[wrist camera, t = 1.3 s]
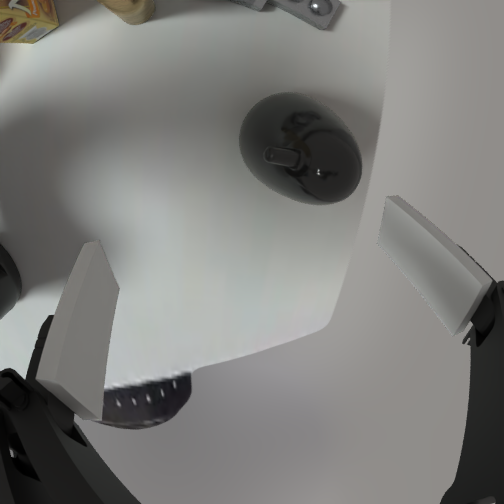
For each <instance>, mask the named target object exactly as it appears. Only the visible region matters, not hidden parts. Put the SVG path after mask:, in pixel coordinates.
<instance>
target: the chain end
mask: <svg viewBox="0 0 504 504" xmlns="http://www.w3.org/2000/svg"><path fill="white" fill-rule="evenodd" d="M266 2H267V3H270V4H272V5H274V6H276V7H278V8H280V9H282V10H284V11H286V12H288V13H290V14H292V15H294V16H296V17H298V18H300V19H302V20H303V21H305V22H307V23H309V24H311V25H312V26H314V27H316V28H317V29H319V30H322V29H326V28H327V26H328V24H329V23H330V21H331V19H332V17H333V15H334V14H335V12H336V10H337V8H338V7H339V5H340V3H341V2H340V1H339V0H255V2H254V4H253V5H252V6H251V7H250V8H251V9H253V10H255V11H258V12H259V11H260V10H261V9H262V8H263V6H264V4H265V3H266Z"/></svg>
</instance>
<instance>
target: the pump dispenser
mask: <svg viewBox="0 0 504 504" xmlns="http://www.w3.org/2000/svg"><path fill="white" fill-rule="evenodd" d="M239 146H240V152H241V155H242V158H243V160H244V163H245V164H246V166H247V168H248V169H249V170H250V172H251V173H252V174H253V175H254V176H255V177H256V178H257V179H258V180H259V181H261V182H262V183H263V184H264V185H266V186H267V187H269V188H270V189H272V190H273V191H275V192H277V193H279V194H281V195H283V196H285V197H288V198H290V199H292V200H295V201H298V202H301V203H305V204H311V205H329V204H334V203H338V202H340V201H342V200H344V199H346V198H347V197H349V196H350V195H351V194H352V193H353V192H354V190H355V189H356V188H357V186H358V184H359V182H360V179H361V175H362V158H361V153H360V150H359V147H358V144H357V142H356V140H355V138H354V136H353V135H352V133H351V132H350V130H349V129H348V127H347V126H346V125H345V124H344V122H343V121H342V120H341V119H340V118H339V117H338V116H337V115H336V114H335V113H334V112H333V111H332V110H330V109H329V108H328V107H327V106H325V105H324V104H322V103H321V102H319V101H317V100H316V99H314V98H312V97H309V96H307V95H304V94H300V93H293V92H284V93H278V94H274V95H271V96H269V97H267V98H265V99H263V100H261V101H260V102H259V103H257V104H256V105H255V106H254V107H253V108H252V109H251V110H250V111H249V113H248V114H247V116H246V117H245V119H244V121H243V124H242V127H241V130H240V136H239Z"/></svg>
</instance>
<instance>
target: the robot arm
mask: <svg viewBox="0 0 504 504" xmlns="http://www.w3.org/2000/svg"><path fill="white" fill-rule="evenodd" d="M377 244H378V245H379V246H380V248H381V249H382V250H383V251H384V252H385V253H386V254H387V255H388V256H389V258H390V259H391V260H392V261H393V262H394V263H395V264H396V266H397V267H398V268H399V269H400V270H401V271H402V273H403V274H404V275H405V276H406V277H407V279H408V280H409V281H410V282H411V283H412V285H413V286H414V287H415V288H416V290H417V291H418V292H419V293H420V295H421V296H422V297H423V298H424V299H425V301H426V302H427V303H428V305H429V306H430V307H431V309H432V310H433V311H434V312H435V314H436V315H437V316H438V318H439V319H440V320H441V322H442V323H443V324H444V326H445V327H446V329H447V330H448V331H449V333H450V334H451V336H455V335H456V334H458V333H460V332H462V331H463V330H464V329H465V328H466V326H467V324H468V323H469V321H471V322H472V323H473V326H472V327H471V329H470V330H469V332H468V333H467V335H466V336H465V338H464V339H463V342H462V343H463V344H465V342H466V341H467V339H468V338H470V341H469V342H468V345H470V346H471V367H470V368H471V370H470V391H469V403H468V412H467V420H466V428H465V434H464V440H463V446H462V451H461V456H460V461H459V465H458V469H457V473H456V477H455V480H454V482H453V484H452V486H451V487H450V488H449V489H448V490H447V491H446V492H445V494H444V496H443V498H442V500H441V502H440V504H492V503H495V504H504V281H499V282H498V283H497V282H496V281H495V280H494V279H493V278H492V277H491V276H490V275H489V274H488V273H487V272H486V271H485V270H484V269H483V268H482V267H481V266H480V265H479V264H478V263H477V262H475V260H474V259H473V258H472V257H471V256H469V254H468V253H467V252H466V251H465V250H464V249H463V248H462V247H460V246H458V245H457V244H455V243H454V242H453V241H452V240H451V239H450V238H449V237H448V236H447V235H446V234H444V233H443V232H442V231H441V230H440V229H439V228H438V227H436V226H435V225H434V224H433V223H432V222H430V221H429V220H428V219H427V218H426V217H424V216H423V215H422V214H421V213H420V212H418V211H417V210H416V209H415V208H413V207H412V206H411V205H410V204H408V203H407V202H406V201H405V200H403V199H402V198H401V197H399V196H387V197H386V201H385V207H384V213H383V218H382V223H381V228H380V233H379V237H378V242H377ZM119 289H120V288H119V286H118V284H117V281H116V279H115V277H114V275H113V272H112V270H111V268H110V265H109V263H108V260H107V258H106V256H105V253H104V251H103V248H102V246H101V243H100V240H97V241H92V242H87V243H84V245H83V247H82V249H81V251H80V253H79V256H78V258H77V260H76V262H75V264H74V267H73V269H72V271H71V274H70V276H69V278H68V281H67V283H66V286H65V288H64V291H63V293H62V296H61V298H60V301H59V304H58V306H57V309H56V312H55V315H49V316H48V317H47V319H46V320H45V322H44V323H43V324H42V326H41V329H40V331H39V334H38V337H37V338H38V340H36V344H35V349H34V350H33V353H32V357H31V360H30V364H29V367H28V371H27V375H26V379H25V380H24V379H23V378H22V377H21V376H20V375H19V374H18V373H17V372H16V371H15V370H13V369H11V368H7V369H4V370H2V371H0V504H141V503H140V502H139V501H138V500H137V499H136V498H135V497H134V496H133V495H132V494H131V493H130V492H129V490H128V489H127V488H126V487H125V486H124V485H123V484H122V483H121V481H120V480H119V479H118V478H117V477H116V476H115V475H114V473H113V472H112V471H111V470H110V468H109V467H108V466H107V465H106V463H105V462H104V461H103V460H102V458H101V457H100V456H99V454H98V453H97V452H96V450H95V449H94V448H93V446H92V445H91V444H90V442H89V441H88V439H87V438H86V436H85V435H84V433H83V432H82V430H81V429H80V428H79V426H78V425H77V424H76V423H75V422H74V413H75V414H77V415H78V416H79V417H80V418H82V419H83V420H102V407H103V394H104V383H105V374H106V365H107V358H108V350H109V344H110V337H111V331H112V325H113V319H114V314H115V309H116V304H117V299H118V294H119ZM20 293H21V280H20V276H19V273H18V270H17V268H16V266H15V264H14V262H13V260H12V259H11V257H10V256H9V254H8V253H7V252H6V250H5V249H4V248H3V247H2V246H1V245H0V320H1V319H2V318H3V317H4V316H5V315H6V314H7V313H8V311H10V310H11V309H12V308H13V307H14V306H15V304H16V302H17V300H18V298H19V296H20ZM9 449H10V450H12V451H13V454H14V458H13V457H11V455H10V450H9Z"/></svg>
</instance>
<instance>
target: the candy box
mask: <svg viewBox="0 0 504 504" xmlns="http://www.w3.org/2000/svg"><path fill="white" fill-rule="evenodd" d="M58 26H59V22H58V18H57V14H56V10H55V6H54V2H53V0H0V43H30V44H33V43H35V42H36V41H37V40H39V39H40V38H41V37H43V36H44V35H46V34H47V33H49V32H50V31H52V30H53V29H55V28H56V27H58Z"/></svg>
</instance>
